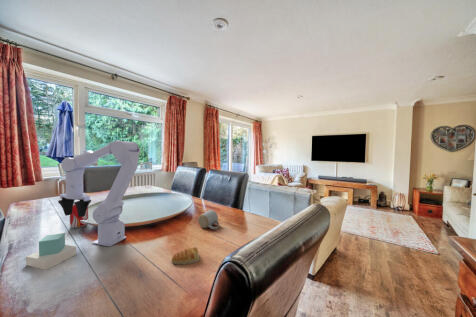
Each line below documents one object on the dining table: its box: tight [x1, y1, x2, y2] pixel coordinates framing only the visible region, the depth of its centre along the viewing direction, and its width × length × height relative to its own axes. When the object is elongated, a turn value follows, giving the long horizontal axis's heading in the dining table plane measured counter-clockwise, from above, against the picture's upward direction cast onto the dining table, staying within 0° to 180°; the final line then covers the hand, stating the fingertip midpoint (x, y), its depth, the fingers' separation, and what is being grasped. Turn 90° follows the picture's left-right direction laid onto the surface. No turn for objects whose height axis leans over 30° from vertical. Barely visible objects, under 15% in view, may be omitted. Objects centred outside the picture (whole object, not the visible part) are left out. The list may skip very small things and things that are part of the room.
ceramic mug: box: [197, 209, 220, 230], centre depth 94 cm, size 11×8×8 cm
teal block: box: [38, 232, 66, 256], centre depth 63 cm, size 5×5×5 cm
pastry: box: [171, 246, 200, 265], centre depth 65 cm, size 9×7×4 cm
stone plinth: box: [25, 244, 77, 270], centre depth 63 cm, size 9×9×3 cm
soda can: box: [69, 203, 89, 229], centre depth 92 cm, size 7×7×12 cm
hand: (75, 215), depth 79 cm, fingers open, 7 cm apart
